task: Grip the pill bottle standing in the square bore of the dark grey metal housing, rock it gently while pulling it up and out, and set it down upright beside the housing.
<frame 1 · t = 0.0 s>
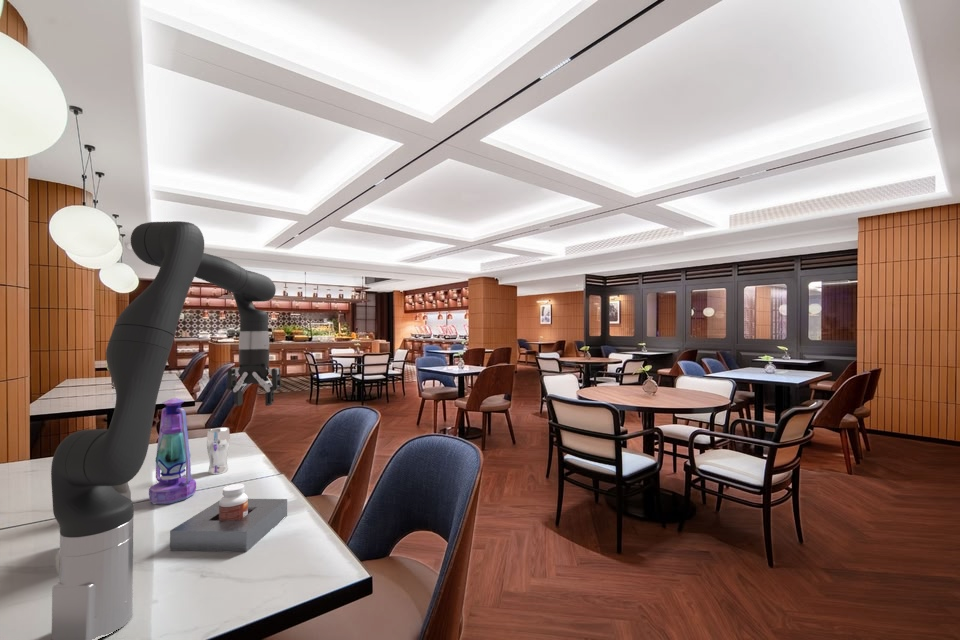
hand: (254, 405, 115), 29 cm above the table, tool pointing down, fingers open, 8 cm apart
beer glass: (218, 472, 147), on the table
planter: (98, 550, 95), on the table
lantern: (172, 498, 124), on the table
pill bottle: (233, 532, 103), resting in bore housing
bore housing: (233, 531, 103), on the table
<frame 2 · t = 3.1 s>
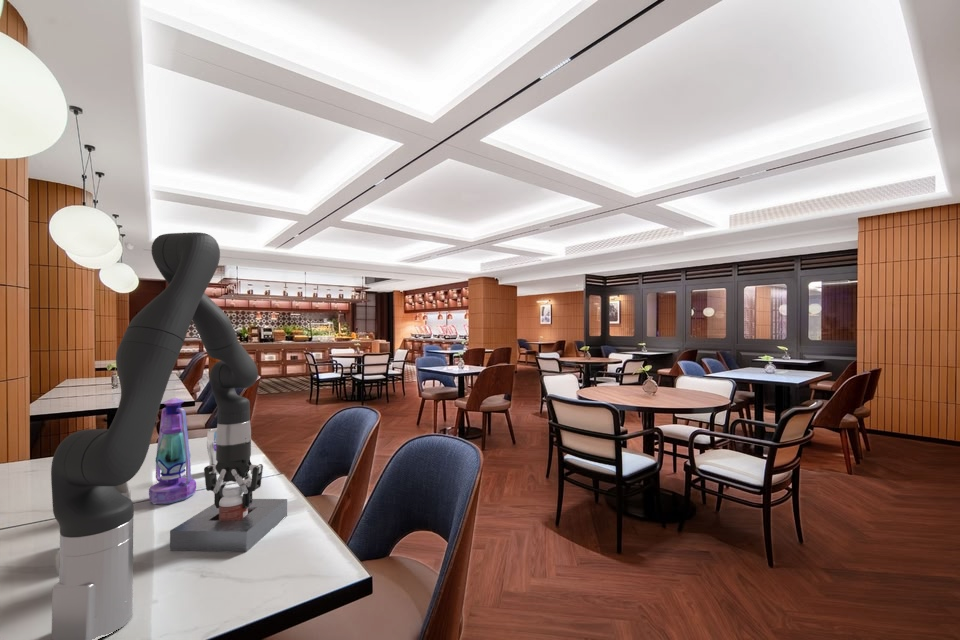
hand: (233, 506, 103), 6 cm above the table, tool pointing down, fingers closed on pill bottle, 6 cm apart
pill bottle: (233, 532, 103), resting in bore housing, touching gripper
everything else where it was.
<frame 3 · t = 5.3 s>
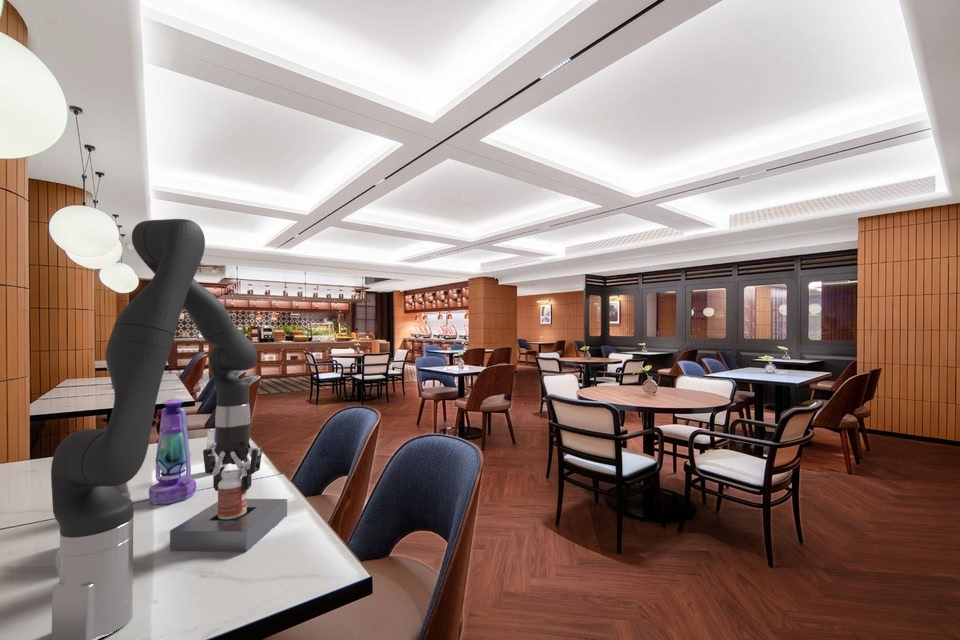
hand: (232, 489, 102), 11 cm above the table, tool pointing down, fingers closed on pill bottle, 6 cm apart
pill bottle: (232, 515, 102), point 4 cm above the table, touching gripper
everything else where it was.
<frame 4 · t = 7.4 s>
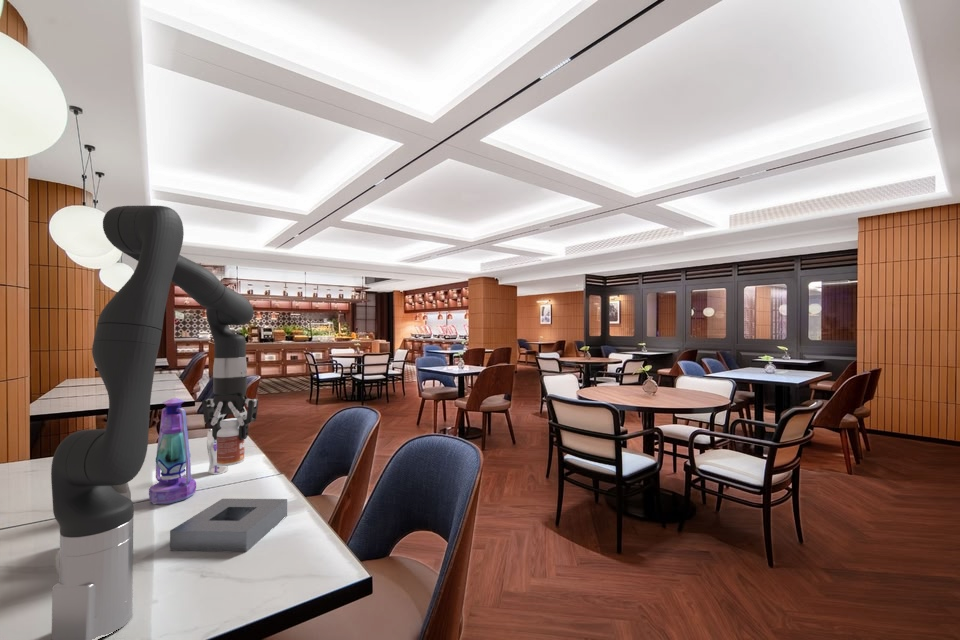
hand: (230, 438, 107), 22 cm above the table, tool pointing down, fingers closed on pill bottle, 6 cm apart
pill bottle: (230, 463, 107), point 16 cm above the table, touching gripper
everything else where it was.
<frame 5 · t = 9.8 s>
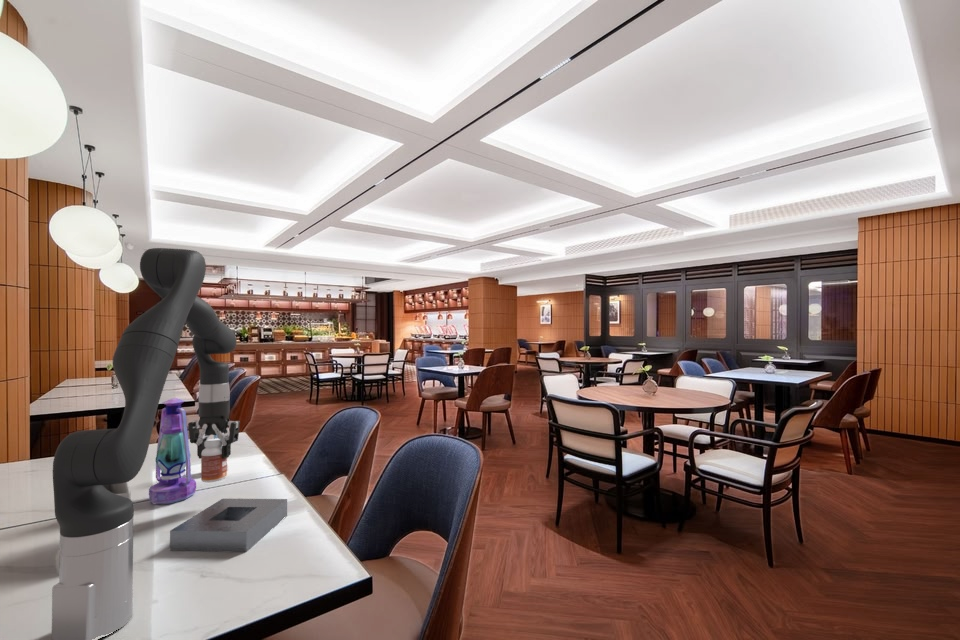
hand: (214, 457, 118), 14 cm above the table, tool pointing down, fingers closed on pill bottle, 6 cm apart
pill bottle: (214, 479, 117), point 8 cm above the table, touching gripper
everything else where it was.
when the fingers open (7 cm above the table, at t = 12.0 s): pill bottle drops 1 cm, on the table.
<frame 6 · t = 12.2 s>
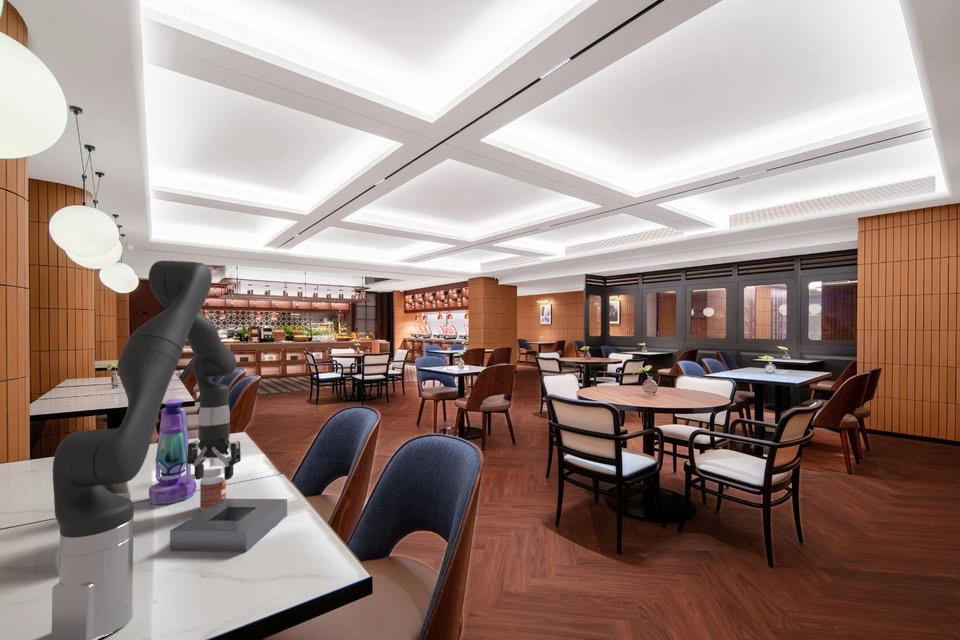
hand: (214, 478, 118), 8 cm above the table, tool pointing down, fingers open, 8 cm apart
pill bottle: (213, 508, 117), on the table
everything else where it was.
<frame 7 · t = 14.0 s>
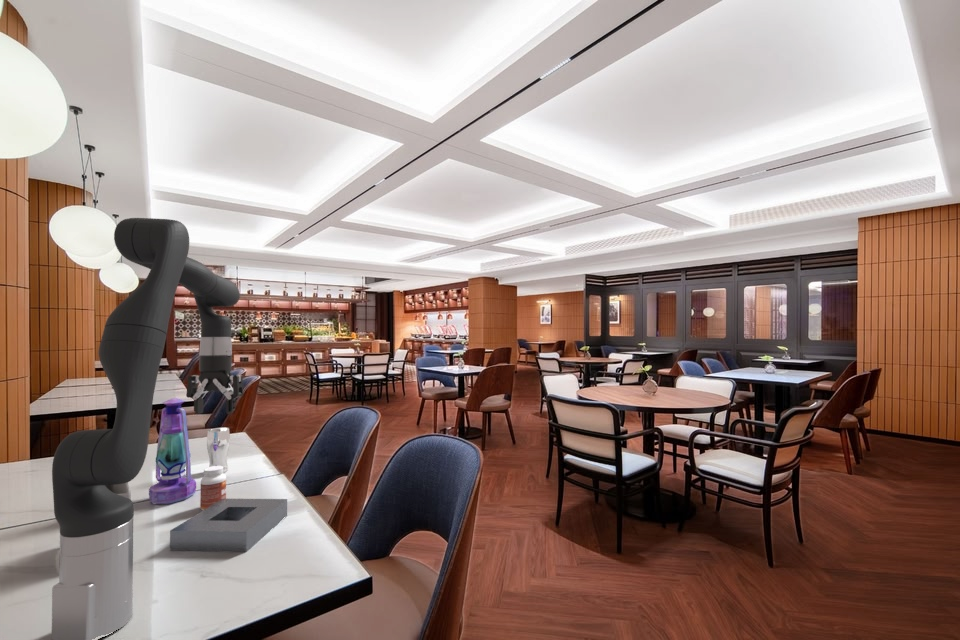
hand: (214, 413, 112), 28 cm above the table, tool pointing down, fingers open, 8 cm apart
nothing on the table moved.
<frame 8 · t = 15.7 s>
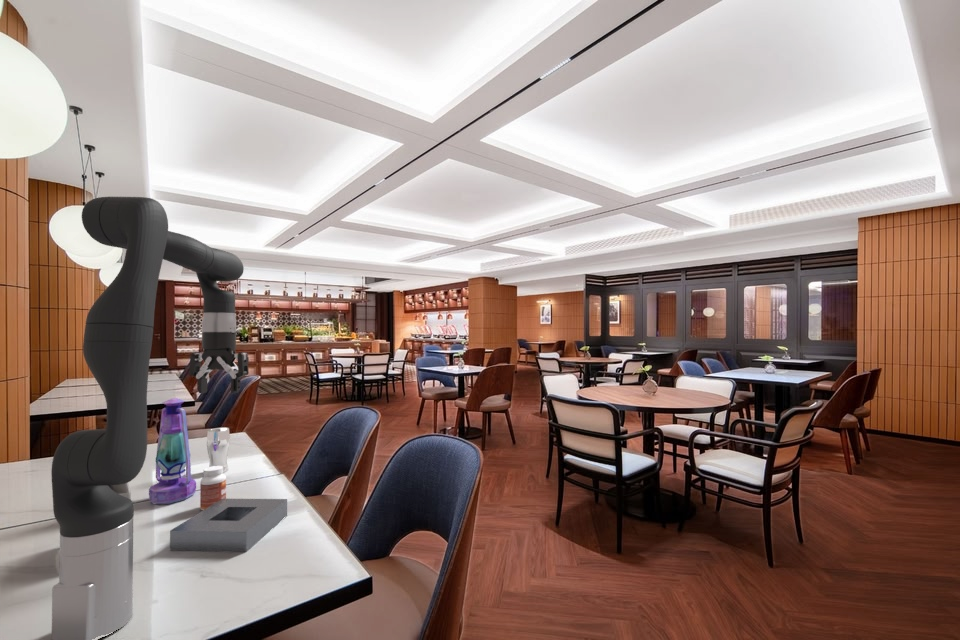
hand: (219, 392, 107), 34 cm above the table, tool pointing down, fingers open, 8 cm apart
nothing on the table moved.
at the end: pill bottle inside the target area (0.1 cm from its centre), on the table; pill bottle tilted 0°; the gripper is holding nothing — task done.
